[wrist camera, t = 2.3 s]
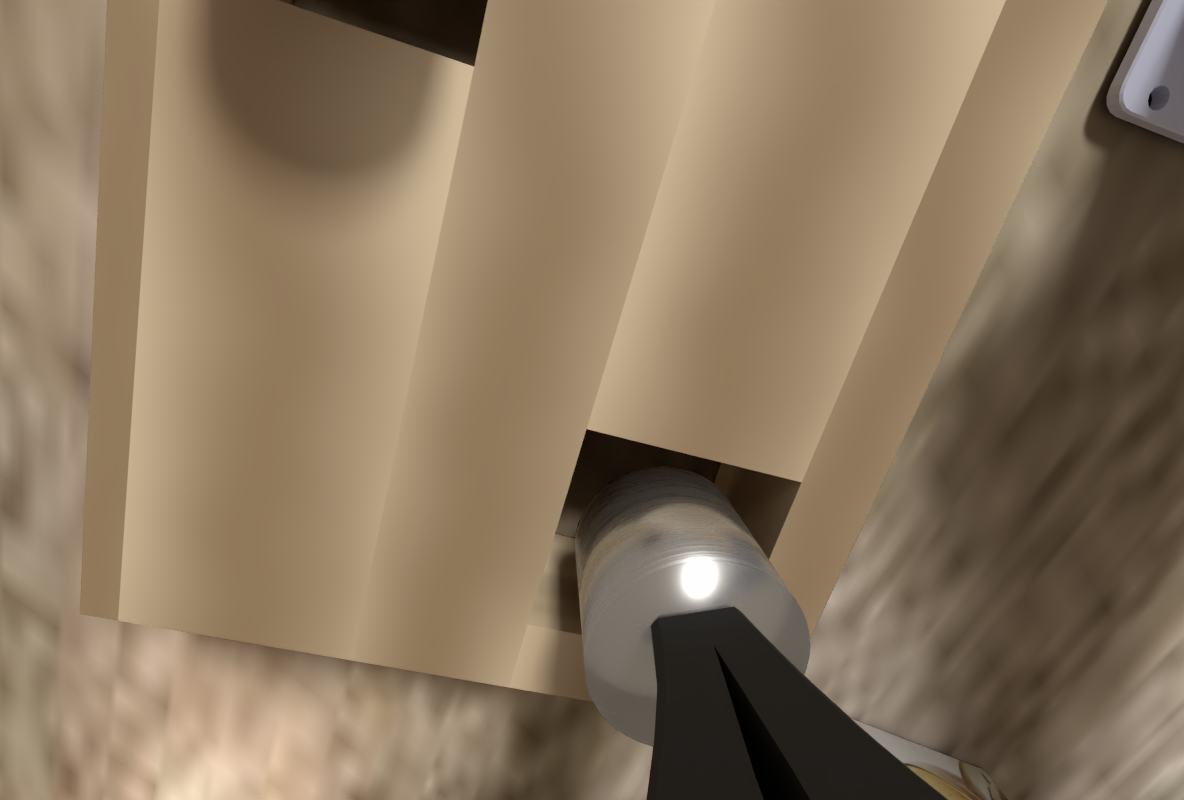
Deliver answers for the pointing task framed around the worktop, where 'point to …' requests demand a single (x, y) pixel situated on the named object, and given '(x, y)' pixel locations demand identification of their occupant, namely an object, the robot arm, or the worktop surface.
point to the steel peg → (667, 583)
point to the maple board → (522, 296)
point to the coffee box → (939, 768)
